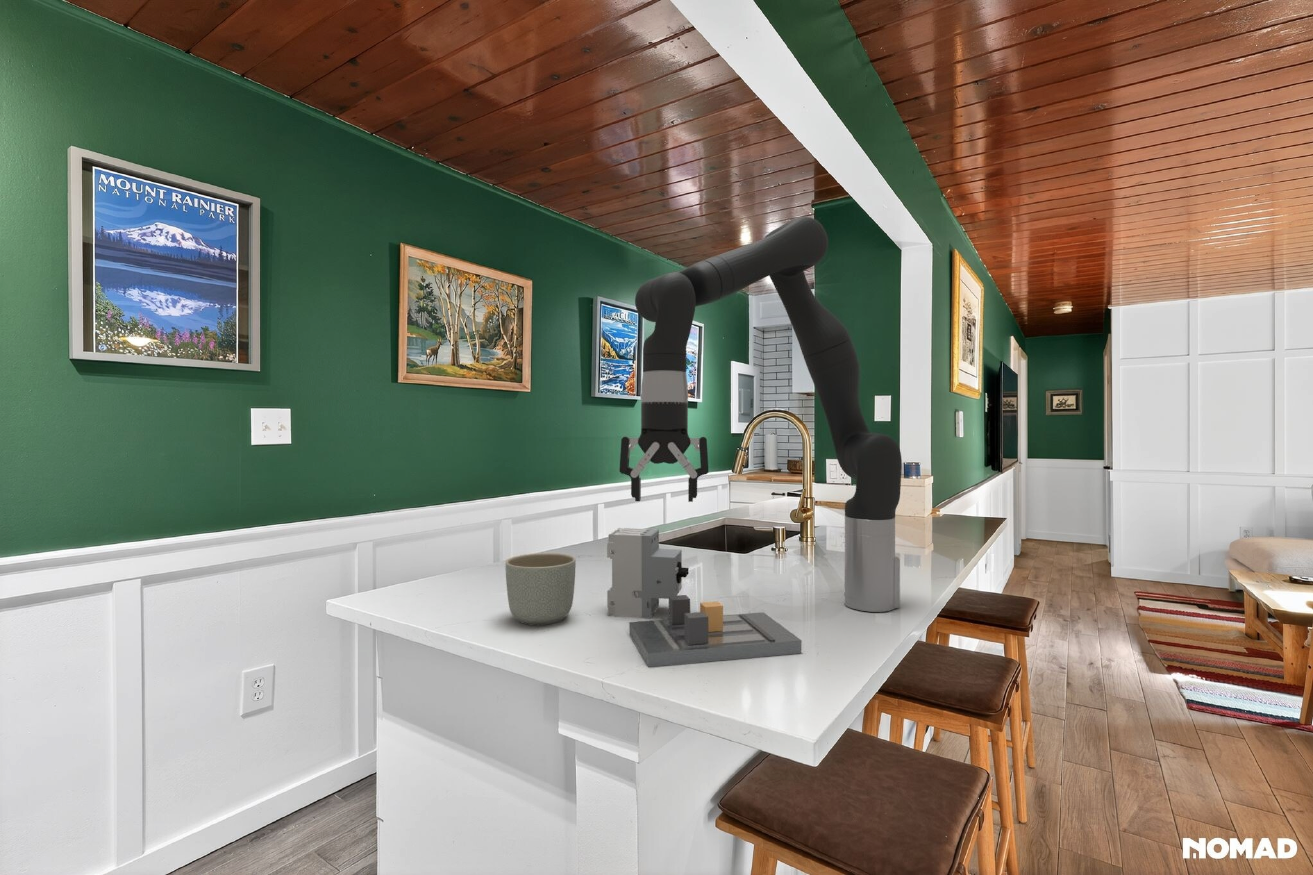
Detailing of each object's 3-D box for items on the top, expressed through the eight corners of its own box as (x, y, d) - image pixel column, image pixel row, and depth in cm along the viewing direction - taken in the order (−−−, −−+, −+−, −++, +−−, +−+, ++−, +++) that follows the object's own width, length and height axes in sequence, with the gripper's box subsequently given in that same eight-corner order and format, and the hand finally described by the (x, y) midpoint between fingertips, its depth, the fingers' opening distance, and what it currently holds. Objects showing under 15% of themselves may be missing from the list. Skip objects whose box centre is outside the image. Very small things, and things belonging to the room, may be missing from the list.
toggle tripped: (717, 625, 104) (717, 601, 104) (723, 630, 102) (723, 605, 102) (700, 627, 104) (700, 602, 103) (704, 632, 101) (704, 607, 101)
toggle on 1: (685, 618, 108) (685, 594, 108) (690, 623, 106) (690, 599, 106) (668, 619, 108) (668, 596, 107) (672, 624, 105) (672, 600, 105)
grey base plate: (763, 623, 113) (763, 611, 113) (801, 653, 98) (801, 639, 98) (629, 633, 107) (629, 620, 107) (648, 667, 93) (648, 651, 93)
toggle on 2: (703, 637, 98) (703, 611, 98) (708, 643, 96) (708, 616, 96) (684, 639, 98) (684, 613, 98) (689, 644, 95) (689, 618, 95)
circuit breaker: (684, 620, 115) (684, 536, 114) (607, 615, 118) (607, 534, 117) (690, 608, 122) (690, 530, 122) (618, 604, 125) (617, 527, 125)
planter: (588, 614, 118) (588, 556, 118) (550, 634, 107) (549, 570, 107) (533, 606, 124) (532, 550, 123) (491, 625, 112) (490, 563, 112)
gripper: (708, 401, 106) (708, 499, 107) (623, 401, 107) (623, 498, 108) (709, 399, 99) (708, 504, 99) (617, 399, 100) (617, 503, 100)
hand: (664, 501), depth 103 cm, fingers open, 8 cm apart
